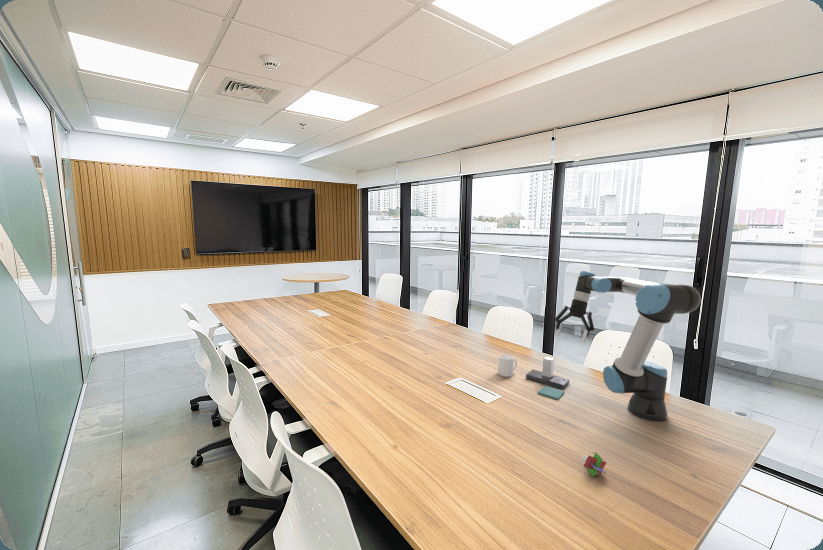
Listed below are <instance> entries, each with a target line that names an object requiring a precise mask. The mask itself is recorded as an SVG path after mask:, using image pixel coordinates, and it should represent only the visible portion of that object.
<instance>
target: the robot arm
mask: <svg viewBox="0 0 823 550" xmlns="http://www.w3.org/2000/svg"><path fill="white" fill-rule="evenodd" d="M592 292H597V293H599V294H600V293H603V294H605V293H622V294H623V293H624V294H628V295H631V296H635V299H634V300H635V307H636V308H637V309H636V310H637V313H638V314H639V316H638V318H637V321H636V323H635V325H634V327H633V328H632V329H633V330H632V331H631V333H630V335H629V338H628V339H627V342H626V344H625V346H624V348H623V351H622V353H621V355H620V357H616V358H615V359H614V361H613V363H612V365H607V366H605V367H604V368H603V371H602V378H603V382H604V383H605V386H606V387H607V389H608V390H609V391H610V392H612V393H615V394H632V396H631V397H630V399H629V401H628V402H627V410H628V411H629V413H631V414H632V415H634V416H636V417H639V418H642V419H645V420H646V421H647V420H648V421H654V422H663V421H666V420H667V419H668V411H667V406H666V403H665V398H666V390H667V389H666V388H667V381H668V370H667V369H666V368H665V367H664V366H662V365H660V364H657V363H654V362H651V361H647V358H648V356H649V355H650V352H651V350H652V348H653V346H654V344H655V342H656V341H657V339H658V336H659V335H660V332H661V330H662V328H663V327H664V325H665V324H670V322H671V321H672V320H673V317H674V316H675V314H676V315H677V314H678V315H681V314H683V315H684V314H688V313H692V312H693V311H696V310H697V308H699V306H700V304H701V302H702V297H701V294H700V292H699V291H698V289H696V288H695V287H694V286H692V285H689V284H683V283H673V284H672V283H657V282H652V281H645V280H640V279H634V278H632V277H629V276H622V277H621V276H619V277H618V276H616V277H615V276H596V274H595V273H594V272H591V271H586V270H581V271H580V273H579V275H578V277H577V282H576V286H575V289H574V293H573V299H572V301H571V304H570V307H569V306H567V305H564V306H563V309H561V311H560V312H559V313H558V314H557V316H556V317H555V318H554V320H553V321H555V322H556V326H555V328H556V334H555V335H556V336H557V337H559V336H560V333H561V330H562V325H563V324H562V323H563V322H564V321H566V320H567V319H569V318H571V317H574V318H580V320H581V322H582V324H583V325H584V327H585V329H584V332H583V334H582V338H581V342H582V343H586V340H587V338H588V337H589V336H590V332H593V331H595V326H594V322H593V317H592V316H593V315H592V314H593V313H592V312H591V311H587V308H588V304H589V301H590V297H591V294H592ZM567 311H569V312H568V313H567V314H565V313H566V312H567ZM563 315H564V316H563ZM585 315H586V316H587V320H586V318H585Z"/></svg>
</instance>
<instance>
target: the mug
mask: <svg viewBox="0 0 823 550" xmlns="http://www.w3.org/2000/svg"><path fill="white" fill-rule="evenodd" d="M517 364H518V362H517V360H516V358H514V356H513V355H510V354H499V355H498V365H497V373H498V375H499V376H501V377H504V378H505V377H507V378H509V377H512V376H513V374H514V370H516V368H517V366H518V365H517Z"/></svg>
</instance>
